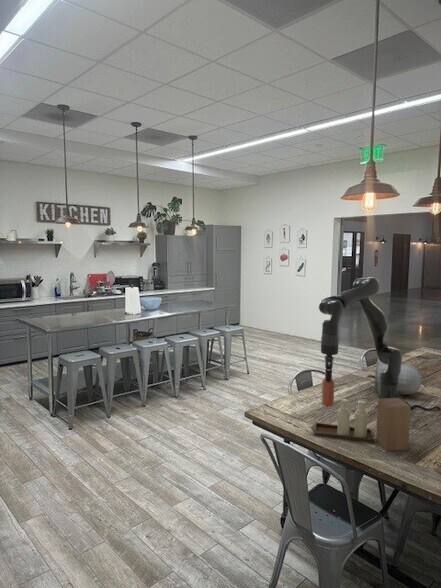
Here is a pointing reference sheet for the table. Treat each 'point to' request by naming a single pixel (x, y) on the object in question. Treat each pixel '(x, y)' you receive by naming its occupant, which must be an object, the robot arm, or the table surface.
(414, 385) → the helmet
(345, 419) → the cream bottle
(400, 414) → the wooden block
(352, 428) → the tray
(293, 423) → the table surface
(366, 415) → the cream bottle
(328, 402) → the terracotta bottle
